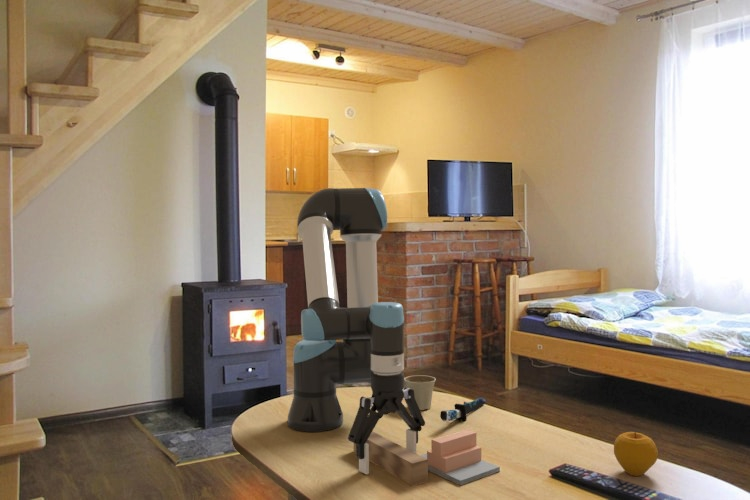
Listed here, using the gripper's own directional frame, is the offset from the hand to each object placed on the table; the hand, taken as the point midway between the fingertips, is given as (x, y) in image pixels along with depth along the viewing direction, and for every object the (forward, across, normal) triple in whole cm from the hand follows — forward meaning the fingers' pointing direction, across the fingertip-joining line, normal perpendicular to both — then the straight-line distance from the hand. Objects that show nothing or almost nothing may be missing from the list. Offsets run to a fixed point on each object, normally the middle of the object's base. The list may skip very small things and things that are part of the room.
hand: (388, 465), depth 142 cm
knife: (0, +39, +14) cm, 42 cm away
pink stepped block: (0, +11, -10) cm, 15 cm away
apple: (0, +39, -37) cm, 54 cm away
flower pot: (0, +35, +29) cm, 46 cm away
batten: (0, 0, 0) cm, 0 cm away
